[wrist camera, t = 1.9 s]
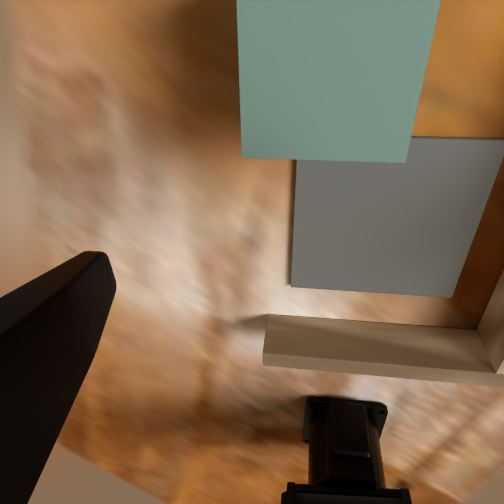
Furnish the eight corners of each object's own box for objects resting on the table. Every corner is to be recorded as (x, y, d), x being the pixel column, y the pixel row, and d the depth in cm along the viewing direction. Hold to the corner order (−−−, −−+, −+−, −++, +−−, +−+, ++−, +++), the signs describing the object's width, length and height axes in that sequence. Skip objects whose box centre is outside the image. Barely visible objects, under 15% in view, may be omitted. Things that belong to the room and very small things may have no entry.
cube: (381, 114, 19) (405, 162, 14) (259, 112, 20) (242, 157, 15) (407, -40, 16) (450, -44, 11) (258, -36, 16) (235, -39, 11)
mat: (450, 294, 25) (451, 297, 24) (290, 283, 26) (290, 286, 26) (507, 138, 19) (509, 140, 19) (298, 133, 20) (298, 135, 20)
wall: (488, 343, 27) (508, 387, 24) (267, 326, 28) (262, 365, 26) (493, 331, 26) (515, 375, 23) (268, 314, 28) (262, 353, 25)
